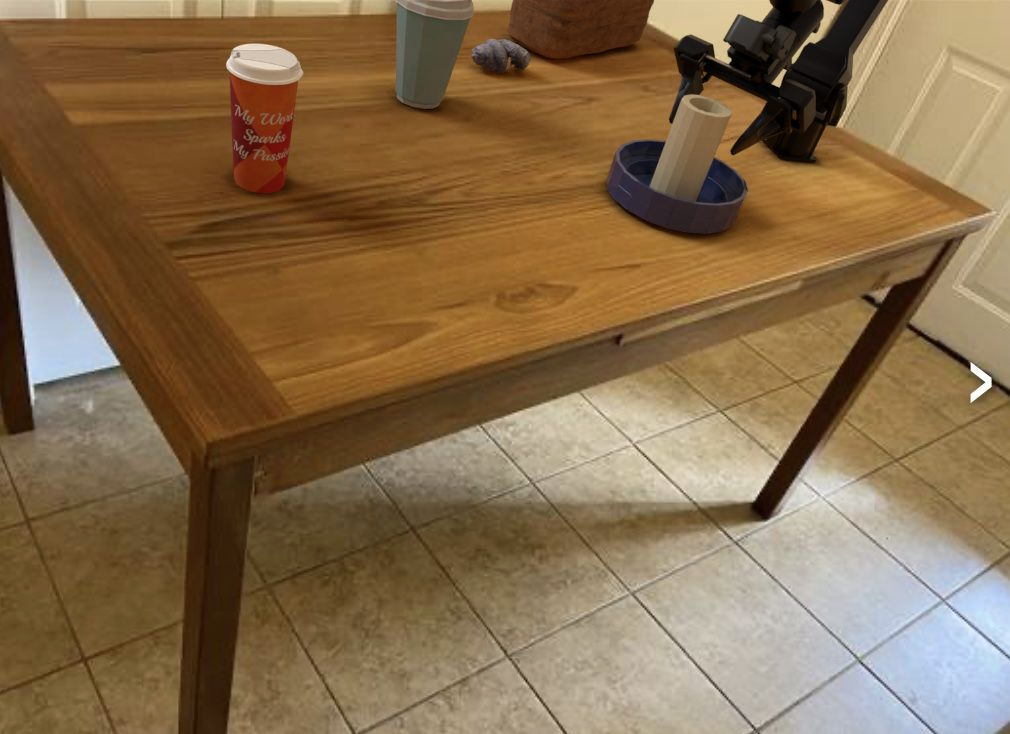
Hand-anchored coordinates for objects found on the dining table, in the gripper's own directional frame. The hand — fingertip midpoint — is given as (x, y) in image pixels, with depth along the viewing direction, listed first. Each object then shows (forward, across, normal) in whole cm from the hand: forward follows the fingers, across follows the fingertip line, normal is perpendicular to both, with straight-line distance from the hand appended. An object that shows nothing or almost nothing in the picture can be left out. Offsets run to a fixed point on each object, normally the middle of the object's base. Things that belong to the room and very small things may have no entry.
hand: (700, 137), depth 109 cm
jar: (+7, 0, +5) cm, 8 cm away
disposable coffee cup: (+14, -37, -2) cm, 40 cm away
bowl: (+7, 0, +5) cm, 9 cm away
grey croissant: (0, -40, +12) cm, 42 cm away
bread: (-17, -44, +30) cm, 55 cm away
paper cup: (+38, -27, -26) cm, 54 cm away
